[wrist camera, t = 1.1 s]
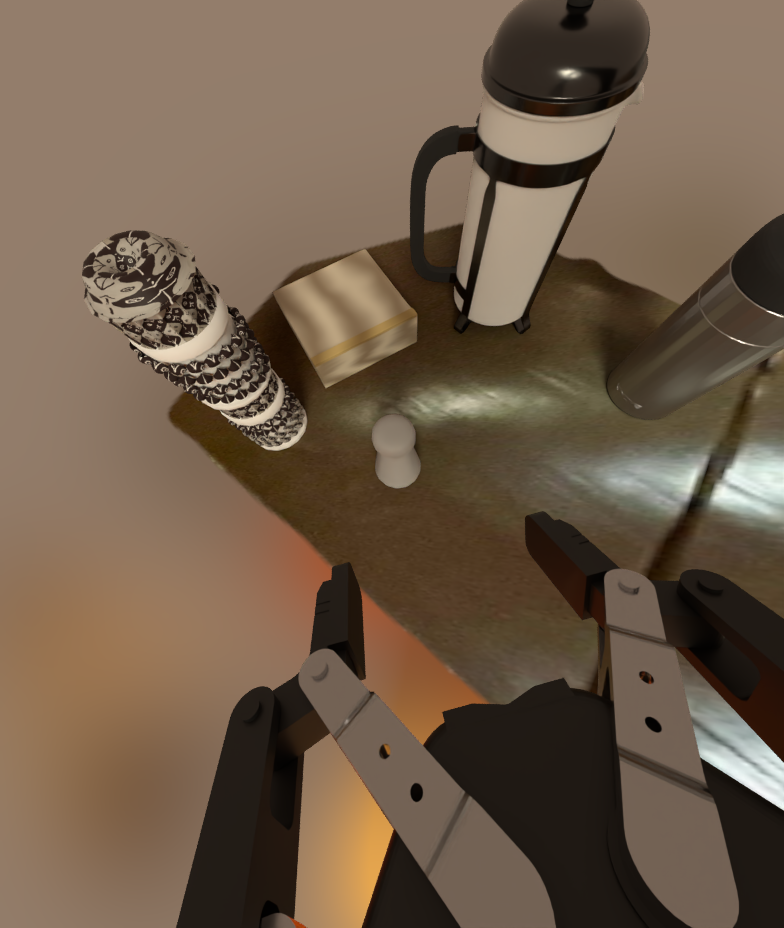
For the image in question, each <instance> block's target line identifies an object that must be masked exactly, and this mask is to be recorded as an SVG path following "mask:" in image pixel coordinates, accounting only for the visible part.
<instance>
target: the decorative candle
mask: <svg viewBox="0 0 784 928" xmlns="http://www.w3.org/2000/svg"><path fill="white" fill-rule="evenodd" d="M82 279H83V282H84V284H85V286H86V289H85V297H84V300H85V302H86V304H87V306H88V308H89V310H90V312H91V313H92V314H93V315H95V316H97V317H99V318H101V319H103V320H104V321H106V322H109V323H110V324H111V325H113V326H114V327H115V328H116V329H118V330H119V331H120V332H122V333H123V334H124V335H125V336H127V337H128V338H129V340H130V348H131V349H132V350H133V351H135V352H138V359H139V361H140V362H142V363H144V364H151V365H152V367H153V370H154V371H155V372H156V373H160V374H163V373H164V376H165V378H166V379H168V380H169V381H171V382H173V383H174V385H176V386H180V387H181V386H183V388H184V391H185V392H186V393H188V394H193V396H194V398H195V399H197V400H199V401H202V402H203V403H205V404H207V405H208V406H210V407H212V408H214V409H219V410H220V411H221V413H222V414H223V415H224V416H225V417H227V418H228V422H229V423H230V424H231V425H235V427H236V428H237V429H238V430H242V432H243V434H244V435H245V436H247V437H249V438H250V439H251V440H252V441H255V442H256V443H257V444H258V445H260V446H262V447H263V448H265V449H267V450H277V451H278V450H282V449H285V448H289V447H290V446H292V445H293V444H295V443H296V442H298V441H299V439H300V438H301V437H302V435H303V434H304V432H305V430H306V426H307V422H308V421H307V415H306V411H305V410H304V409H303V406H301V405H300V403H299V400H298V399H294V400H293V398H294V397H295V394H294V393H293V392H289V391H290V388H289V386H288V385H285V381H284V379H283V378H281V377H280V378H279V377H278V376H277V374H276V373H275V372H274V370H273V369H271V366H270V360H269V356H268V355H266V354H264V349H263V348H262V345H261V344H260V343H257V339H256V338H255V337H254V332H253V330H251V329H249V325H248V324H247V323H246V322H245V318H244V317H243V316H242V315H241V314H239V311H238V309H237V308H234V307H228V306H227V305H226V304H225V302H224V301H223V300H222V298H221V297H220V295H219V289H218V287H216V286H215V285H212V284H211V283H210V282H208V281H206V280H205V279H204V277H203V276H202V274H201V273H200V271H199V270H198V269H197V267H196V266H195V256H194V255H193V253H192V252H191V251H190V250H189V248H188V247H187V245H186V244H183V243H181V242H178V241H176V240H174V239H171V238H162V237H160V236H157V235H155V234H153V233H150V232H148V231H126V232H122V233H118V234H115V235H113V236H111V237H109V238H107V239H106V240H104V241H102V242H101V243H99V244H98V245H97V246H96V247H95V248H94V249H93V250H91V252H90V253H89V255H88V256H87V258H86V260H85V261H84V264H83V272H82ZM229 314H231V315H232V316H233V317H232V318H231V316H230V315H229ZM158 361H159V362H158ZM160 362H162V363H160Z"/></svg>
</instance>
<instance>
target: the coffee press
mask: <svg viewBox="0 0 784 928" xmlns="http://www.w3.org/2000/svg"><path fill="white" fill-rule="evenodd" d="M649 36H650V27H649V21H648V17H647V15H646V12H645V10H644V9H643V7H642V6H641V4H640V3H639V2H638V1H637V0H523V1H522V2H520V3H519V4H518V5H517V6H516V7H515V8H514V9H513V10H512V11H511V12H510V13H509V14H508V15H507V16H506V18H505V19H504V21H503V22H502V24H501V25H500V27H499V29H498V31H497V33H496V35H495V38H494V41H493V44H492V45H491V46H490V47H489V49H488V50H487V52H486V54H485V56H484V60H483V67H482V74H481V77H482V83H483V88H484V91H483V99H482V105H481V112H480V114H479V116H478V118H477V121H476V127H464V128H459V127H458V126H450V127H447V128H444V129H442V130H440V131H438V132H436V133H435V134H433V135H432V136H431V137H430V138H429V139H428V140H427V141H426V142H425V143H424V145H423V146H422V148H421V150H420V151H419V154H418V156H417V158H416V161H415V164H414V168H413V172H412V179H411V195H410V248H411V259H412V263H413V266H414V268H415V270H416V272H417V273H418V274H419V275H420V276H421V277H423V278H424V279H426V280H429V281H434V282H449V283H454V285H455V286H454V299H455V303H456V305H457V307H458V309H459V310H460V311H461V314H460V316H459V318H458V320H457V322H456V323H455V325H454V329H455V330H456V331H458V332H459V333H460V334H462V333H463V332H464V331H465V330H466V328H467V327H468V325H469V324H470V323H471V322H472V321H474V322H476V323H479V324H482V325H488V326H500V325H505V324H509V323H511V322H514V325H515V328H516V330H517V332H518V333H520V334H523V333H524V332H525V331H527V330H528V329H529V328H530V318H529V311H530V308H531V306H532V304H533V302H534V300H535V297H536V295H537V293H538V291H539V289H540V287H541V284H542V282H543V280H544V278H545V276H546V274H547V272H548V269H549V267H550V265H551V263H552V261H553V259H554V256H555V254H556V252H557V250H558V248H559V245H560V243H561V241H562V239H563V237H564V235H565V233H566V230H567V228H568V226H569V224H570V222H571V220H572V217H573V215H574V213H575V211H576V209H577V207H578V204H579V202H580V200H581V198H582V196H583V194H584V192H585V189H586V187H587V184H588V182H589V180H590V178H591V176H592V174H593V171H594V170H595V169H596V167H597V166H598V165H599V163H600V162H601V160H602V158H603V156H604V154H605V152H606V149H607V147H608V145H609V143H610V141H611V139H612V137H613V134H614V131H615V124H616V122H617V120H618V118H619V116H620V114H621V112H622V110H623V109H624V107H625V106H627V105H631V104H639V103H640V102H641V101H642V99H643V92H644V87H643V83H642V82H641V80H642V78H643V75H644V74H645V71H646V69H647V65H648V56H647V53H646V52H647V48H648V44H649ZM463 151H473V155H474V159H473V165H472V172H471V179H470V185H469V192H468V199H467V205H466V212H465V218H464V225H463V232H462V238H461V245H460V252H459V258H458V260H457V262H456V266H452V267H436V266H432V265H431V264H429V263H428V261H427V260H426V258H425V256H424V249H423V247H424V214H425V191H426V183H427V179H428V176H429V174H430V172H431V169H432V168H433V166H434V165H435V164H436V162H437V161H439V160H440V159H441V158H443V157H445V156H448V155H452V154H456V152H463ZM522 316H523V317H522ZM520 317H522V321H523V324H522V321H521V319H520Z"/></svg>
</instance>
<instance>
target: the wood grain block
mask: <svg viewBox="0 0 784 928" xmlns="http://www.w3.org/2000/svg"><path fill="white" fill-rule="evenodd" d="M273 294H274V296H275V298H276V300H277V302H278V304H279V306H280V308H281V310H282V312H283V314H284V316H285V318H286V319H287V321H288V323H289V325H290V326H291V328H292V330H293V332H294V333H295V335H296V337H297V339H298V340H299V342H300V344H301V346H302V347H303V349H304V351H305V353H306V354H307V356H308V358H309V360H310V361H311V363H312V365H313V367H314V368H315V370H316V372H317V374H318V375H319V377H320V379H321V381H322V383H323V384H324V386H325V388H327V387H329V386H331V385H333V384H335V383H337V382H339V381H341V380H343V379H345V378H347V377H349V376H351V375H353V374H354V373H356V372H358V371H360V370H362V369H364V368H366V367H368V366H370V365H372V364H374V363H376V362H378V361H380V360H382V359H384V358H386V357H388V356H390V355H392V354H393V353H395V352H397V351H399V350H401V349H403V348H405V347H407V346H409V345H411V344H413V343H415V342H417V313H416V312H415V310H414V309H413V308H410V306H409V305H408V304H407V302H406V301H405V300H404V299H403V297H402V296H401V295H400V293H399V292H398V291H397V290H396V288H395V287H394V286H393V284H392V283H391V282H390V281H389V279H388V278H387V277H386V275H385V274H384V273H383V272H382V270H381V269H380V268H379V266H378V265H377V264H376V263H375V261H374V260H373V259H372V257H371V256H370V255H369V254H368V252H367V251H366V250H365V249H364V250H361V251H359V252H357V253H355V254H353V255H351V256H349V257H346V258H344V259H342V260H340V261H338V262H336V263H334V264H331V265H329V266H327V267H325V268H323V269H321V270H319V271H316V272H314V273H312V274H310V275H308V276H306V277H304V278H301V279H299V280H297V281H295V282H293V283H291V284H289V285H286V286H284V287H282V288H280V289H278V290H276V291H274V292H273Z"/></svg>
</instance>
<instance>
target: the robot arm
mask: <svg viewBox="0 0 784 928" xmlns="http://www.w3.org/2000/svg"><path fill="white" fill-rule="evenodd" d="M782 349H784V214H782V215H780V216H778V217H776V218H775V219H773V220H772V221H770V222H769V223H768V224H766V225H765V226H764V227H762V228H761V229H760V230H759V231H758V232H757V233H755V234H754V236H752V237H751V238H750V239H749V240H748V241H747V242H746V243H745V244H744V245H743V246H742V247H741V248H740V249H739V250H738V251H737V252H736V253H735V254H734V255H733V256H732V257H731V258H730V259H728V260H727V261H726V262H725V263H724V264H723V265H722V266H721V267H720V268H719V269H718V270H717V271H716V272H715V273H714V274H713V275H712V276H711V277H710V278H709V279H708V280H707V281H706V282H705V283H704V284H703V285H702V286H701V287H699V289H698V290H696V291H695V292H694V293H693V294H692V295H691V296H690V297H689V298H688V299H687V300H686V301H685V302H684V303H683V304H682V305H681V306H680V307H679V308H678V309H677V310H675V311H674V312H673V313H672V314H671V315H670V316H669V317H668V318H667V319H666V320H665V321H664V322H663V323H662V324H661V325H660V326H659V327H658V328H657V329H656V330H655V331H654V332H653V333H651V334H650V335H649V336H648V337H647V338H646V339H645V340H644V341H643V342H642V343H641V344H640V345H639V346H638V347H637V348H636V349H635V350H634V351H633V352H632V353H631V354H629V355H628V356H627V357H626V358H625V359H624V360H623V361H622V362H621V363H620V364H619V365H618V366H617V367H616V368H615V369H614V370H613V371H612V372H611V374H610V375H609V377H608V381H607V389H608V393H609V395H610V397H611V399H612V401H613V402H614V403H615V404H616V406H618V407H619V408H620V409H621V410H622V411H624V412H626V413H627V414H629V415H631V416H634V417H636V418H641V419H648V420H653V419H660V418H663V417H666V416H667V415H669V414H671V413H673V412H674V411H676V410H678V409H680V408H681V407H683V406H685V405H687V404H688V403H690V402H692V401H694V400H696V399H697V398H699V397H701V396H703V395H704V394H706V393H708V392H710V391H711V390H713V389H715V388H717V387H718V386H720V385H722V384H723V383H725V382H727V381H729V380H730V379H732V378H734V377H736V376H737V375H739V374H741V373H743V372H744V371H746V370H748V369H750V368H751V367H753V366H755V365H756V364H758V363H760V362H762V361H763V360H765V359H767V358H769V357H770V356H772V355H774V354H776V353H777V352H779V351H781V350H782ZM525 540H526V546H527V549H528V551H529V553H530V555H531V556H532V558H533V559H534V560H535V561H536V563H537V564H538V565H539V566H540V568H541V569H542V570H543V571H544V573H545V574H546V575H547V576H548V578H549V579H550V580H551V581H552V583H553V584H554V585H555V587H556V588H557V589H558V590H559V592H560V593H561V594H562V595H563V597H564V598H565V599H566V600H567V602H568V603H569V604H570V605H571V607H572V608H573V609H574V610H575V612H576V613H577V614H578V616H579V617H580V618H581V619H582V620H585V619H588V618H592V617H593V618H594V619H595V620H596V622H597V623H598V627H597V634H598V670H599V680H598V695H597V694H595V693H592V692H589V691H585V690H581V689H575V688H570V687H569V686H568V684H567V682H566V681H565V679H564V678H562V679H558V680H554V681H551V682H547V683H544V684H540V685H537V686H534V687H532V688H531V689H529V690H528V691H527V692H525V693H524V694H522V695H521V696H519V697H518V698H517V699H515V700H514V701H512V702H511V703H509V704H506V705H500V704H469V705H466V706H462V707H458V708H455V709H451V710H448V711H444V712H443V717H444V721H445V722H444V723H443V724H441V725H440V726H439V727H438V728H437V729H436V730H435V731H433V733H432V734H431V735H430V736H429V737H428V739H427V740H426V742H425V743H424V745H422V744H421V743H420V742H419V741H418V740H417V739H416V737H414V735H412V733H411V732H410V731H409V730H408V729H407V728H406V727H405V725H404V724H403V723H402V722H401V721H400V720H399V719H398V718H397V716H396V715H395V714H394V713H393V712H392V711H391V710H390V709H389V707H388V706H387V705H386V704H385V703H384V702H383V701H382V700H381V699H380V697H379V696H378V695H376V694H375V693H374V692H370V691H369V690H368V689H367V688H366V687H365V686H364V685H363V683H362V682H361V681H360V680H364V679H365V678H366V675H365V654H364V633H363V613H362V612H363V611H362V596H361V591H360V587H359V584H358V582H357V579H356V576H355V574H354V571H353V569H352V566H351V564H350V562H348V563H344V564H341V565H337V566H333V568H332V578H331V580H329V581H325V582H323V583H322V585H321V587H320V589H319V591H318V593H317V599H316V607H315V616H314V625H313V633H312V641H311V650H310V655H309V657H308V658H307V659H306V660H305V662H304V663H303V665H302V667H301V669H300V672H299V673H298V674H297V675H296V676H295V677H293V678H292V679H291V680H289V681H287V682H286V683H284V684H283V685H281V686H279V687H278V688H276V689H275V690H273V691H272V690H271V689H270V688H268V687H264V686H262V687H257V688H254V689H252V690H251V691H249V692H248V693H247V694H245V695H244V696H243V697H242V698H241V699H240V701H239V702H238V703H237V705H236V706H235V708H234V710H233V712H232V714H231V717H230V720H229V724H228V728H227V732H226V736H225V740H224V744H223V747H222V751H221V755H220V759H219V763H218V767H217V771H216V775H215V779H214V783H213V786H212V790H211V794H210V798H209V802H208V806H207V810H206V814H205V818H204V822H203V825H202V829H201V833H200V837H199V841H198V845H197V849H196V852H195V856H194V860H193V864H192V868H191V872H190V876H189V880H188V884H187V888H186V891H185V895H184V899H183V903H182V907H181V911H180V915H179V919H178V922H177V926H176V928H306V926H304V925H303V924H301V923H300V922H298V921H296V920H294V914H295V897H296V879H297V864H298V847H299V829H300V813H301V797H302V781H303V764H304V752H305V751H306V750H307V749H309V748H310V747H312V746H313V745H314V744H316V743H317V742H318V741H320V740H321V739H322V738H324V737H325V736H326V735H328V734H329V733H331V735H332V736H333V738H334V739H335V741H336V742H337V744H338V745H339V747H340V748H341V750H342V751H343V753H344V754H345V756H346V757H347V759H348V761H349V762H350V763H351V765H352V766H353V768H354V770H355V771H356V772H357V774H358V776H359V777H360V779H361V780H362V782H363V783H364V785H365V786H366V788H367V789H368V791H369V792H370V794H371V795H372V797H373V798H374V800H375V801H376V803H377V804H378V806H379V807H380V809H381V811H382V812H383V814H384V815H385V817H386V818H387V819H388V821H389V823H390V824H391V826H392V827H393V828H394V830H393V833H392V836H391V839H390V843H389V846H388V848H387V852H386V855H385V858H384V861H383V864H382V867H381V870H380V873H379V876H378V880H377V882H376V885H375V888H374V891H373V894H372V898H371V901H370V904H369V907H368V910H367V913H366V916H365V919H364V922H363V925H362V928H784V810H782V809H780V808H779V807H777V806H776V805H774V804H772V803H771V802H769V801H768V800H766V799H765V798H763V797H761V796H760V795H758V794H757V793H755V792H754V791H752V790H750V789H749V788H747V787H746V786H744V785H743V784H741V783H739V782H738V781H736V780H735V779H733V778H732V777H730V776H728V775H727V774H725V773H724V772H722V771H721V770H719V769H717V768H716V767H714V766H713V765H711V764H710V763H708V762H706V761H705V760H703V759H702V758H700V755H699V751H698V747H697V742H696V738H695V734H694V729H693V725H692V721H691V716H690V712H689V707H688V703H687V699H686V694H685V690H684V686H683V681H682V677H681V673H680V668H679V664H678V660H677V655H676V651H675V648H676V649H677V650H678V651H679V652H680V653H681V654H682V655H683V656H684V657H685V658H686V659H687V660H688V661H689V662H690V664H691V665H692V666H693V667H694V668H695V669H696V670H697V671H698V672H699V673H700V674H701V675H702V676H703V677H704V678H705V679H706V681H707V682H708V683H709V684H710V685H711V686H712V687H713V688H714V689H715V690H716V691H717V692H718V693H719V694H720V695H721V696H722V698H723V699H724V700H725V701H726V702H727V703H728V704H729V705H730V706H731V707H732V708H733V709H734V710H735V711H736V712H737V713H738V715H739V716H740V717H741V718H742V719H743V720H744V721H745V722H746V723H747V724H748V725H749V726H750V727H751V728H752V729H753V730H754V732H755V733H756V734H757V735H758V736H759V737H760V738H761V739H762V740H763V741H764V742H765V743H766V744H767V745H768V746H769V747H770V749H771V750H772V751H773V752H774V753H775V754H776V755H777V756H778V757H779V758H780V759H781V760H782V761H783V762H784V619H783V618H782V617H780V616H779V615H777V614H776V613H775V612H773V611H772V610H770V609H769V608H768V607H766V606H765V605H763V604H762V603H761V602H759V601H758V600H756V599H755V598H754V597H752V596H751V595H749V594H748V593H747V592H745V591H744V590H743V589H741V588H740V587H738V586H737V585H736V584H734V583H733V582H731V581H730V580H728V579H727V578H725V577H723V576H721V575H718V574H716V573H713V572H710V571H705V570H698V569H692V570H687V571H685V572H683V573H682V574H681V576H680V579H679V581H653V580H648V579H647V578H646V577H644V576H643V575H641V574H639V573H637V572H634V571H631V570H627V569H621V568H619V567H618V566H617V565H616V564H615V563H614V562H613V561H611V560H610V559H609V558H608V557H607V556H606V555H605V554H604V553H602V552H601V551H600V550H599V549H598V548H597V547H596V546H595V545H594V544H592V543H591V542H589V540H588V539H587V538H586V537H585V536H583V535H582V534H581V533H580V532H579V531H578V530H577V529H576V528H574V527H573V526H572V525H570V524H568V523H566V522H564V521H562V520H560V519H559V520H555V521H554V520H553V519H552V518H551V517H550V516H549V515H548V514H547V513H546V512H544V511H542V512H538V513H534V514H531V515H527V516H526V517H525ZM674 647H675V648H674Z"/></svg>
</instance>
